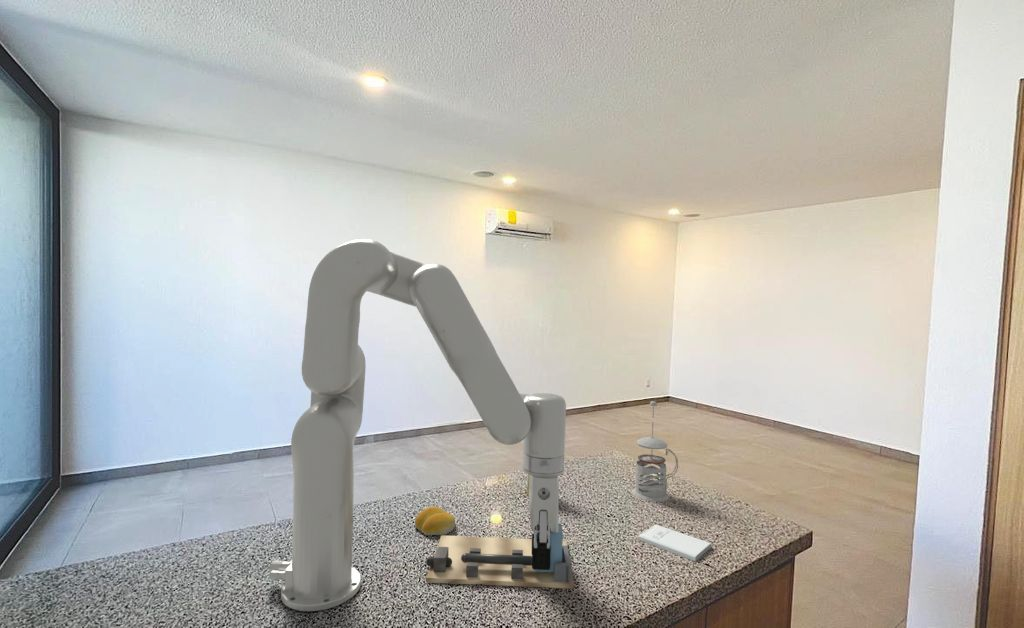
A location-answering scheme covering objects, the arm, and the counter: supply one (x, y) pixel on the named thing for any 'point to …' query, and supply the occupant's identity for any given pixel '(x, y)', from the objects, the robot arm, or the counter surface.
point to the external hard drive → (675, 542)
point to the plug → (555, 556)
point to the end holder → (563, 567)
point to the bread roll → (435, 521)
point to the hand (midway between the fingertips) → (540, 560)
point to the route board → (453, 570)
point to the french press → (652, 470)
